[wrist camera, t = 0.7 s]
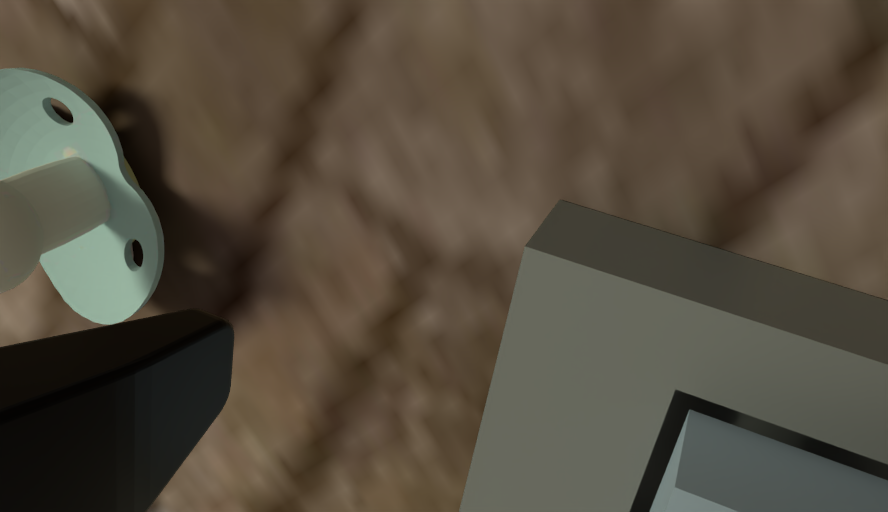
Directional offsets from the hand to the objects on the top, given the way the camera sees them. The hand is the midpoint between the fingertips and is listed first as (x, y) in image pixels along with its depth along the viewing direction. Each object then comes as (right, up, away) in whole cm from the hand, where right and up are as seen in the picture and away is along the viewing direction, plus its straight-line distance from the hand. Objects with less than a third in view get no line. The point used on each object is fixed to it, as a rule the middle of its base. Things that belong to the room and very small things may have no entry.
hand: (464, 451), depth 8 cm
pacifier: (-11, +4, +17) cm, 21 cm away
